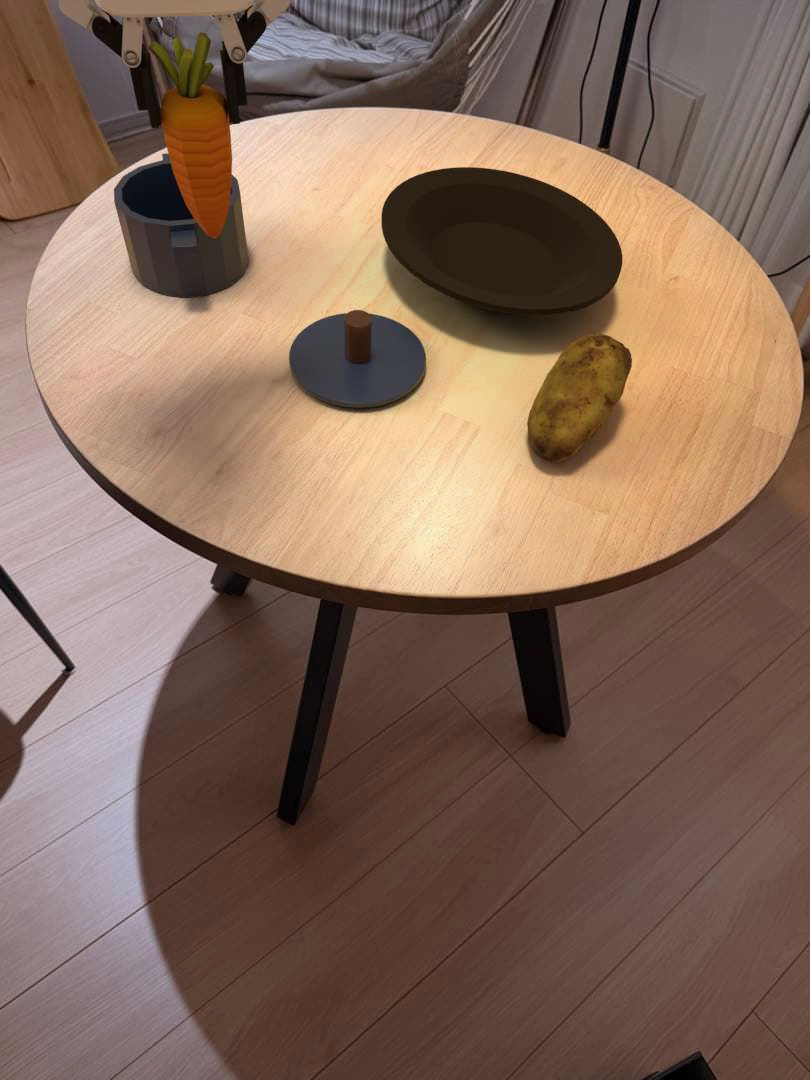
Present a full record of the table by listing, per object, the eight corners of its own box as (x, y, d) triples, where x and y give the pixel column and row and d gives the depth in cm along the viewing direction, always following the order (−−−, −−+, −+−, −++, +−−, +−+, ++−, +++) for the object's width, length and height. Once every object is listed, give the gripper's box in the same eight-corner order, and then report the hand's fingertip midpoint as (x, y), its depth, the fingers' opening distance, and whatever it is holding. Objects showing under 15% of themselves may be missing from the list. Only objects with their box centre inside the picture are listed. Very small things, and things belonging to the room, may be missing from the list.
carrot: (172, 247, 63) (129, 41, 51) (200, 215, 66) (166, 14, 54) (228, 261, 63) (199, 55, 51) (254, 228, 66) (232, 26, 54)
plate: (655, 300, 88) (672, 256, 84) (502, 387, 78) (511, 343, 74) (485, 190, 100) (491, 146, 96) (334, 253, 90) (333, 207, 86)
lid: (301, 420, 74) (297, 374, 70) (281, 329, 82) (276, 282, 77) (440, 402, 77) (445, 356, 72) (407, 315, 84) (410, 269, 80)
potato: (488, 431, 75) (501, 365, 68) (578, 374, 80) (597, 309, 74) (552, 483, 71) (572, 419, 65) (642, 420, 76) (668, 356, 70)
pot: (135, 319, 82) (115, 245, 75) (130, 222, 92) (112, 150, 85) (257, 306, 84) (248, 234, 77) (239, 213, 94) (230, 142, 87)
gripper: (289, -243, 46) (305, 88, 60) (-22, -251, 43) (73, 98, 58) (308, -212, 42) (320, 136, 56) (-37, -219, 39) (70, 150, 53)
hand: (194, 114), depth 57 cm, fingers closed on carrot, 4 cm apart
